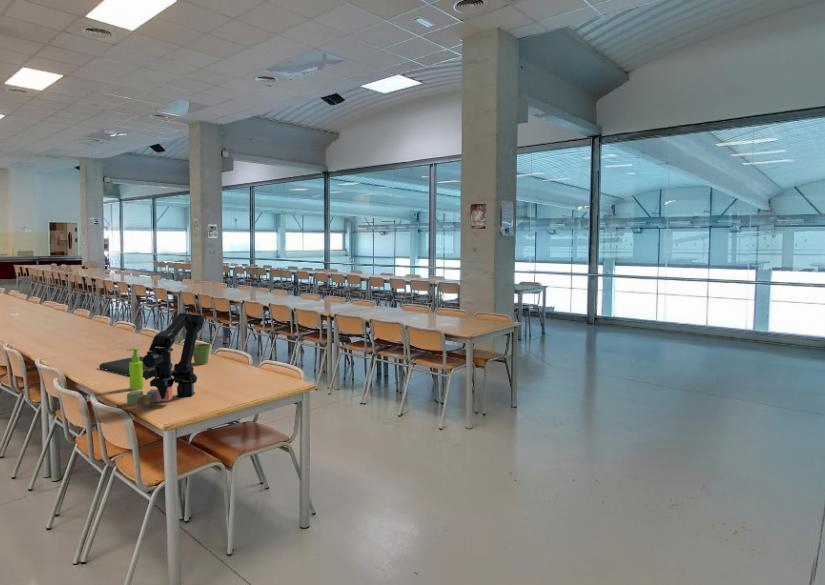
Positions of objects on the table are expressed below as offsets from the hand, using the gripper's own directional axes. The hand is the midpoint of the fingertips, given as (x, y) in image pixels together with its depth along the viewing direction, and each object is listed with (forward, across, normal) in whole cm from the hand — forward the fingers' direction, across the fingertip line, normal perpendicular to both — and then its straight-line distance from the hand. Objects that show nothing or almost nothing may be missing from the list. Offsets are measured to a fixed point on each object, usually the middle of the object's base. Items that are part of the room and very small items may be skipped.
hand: (164, 396), depth 240 cm
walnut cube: (+4, +2, -8) cm, 9 cm away
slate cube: (+4, -6, -6) cm, 10 cm away
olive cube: (+4, -4, -14) cm, 15 cm away
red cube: (+1, 0, 0) cm, 1 cm away
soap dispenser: (+4, -30, -23) cm, 38 cm away
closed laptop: (+4, -74, -39) cm, 84 cm away
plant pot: (+4, -84, -6) cm, 85 cm away
